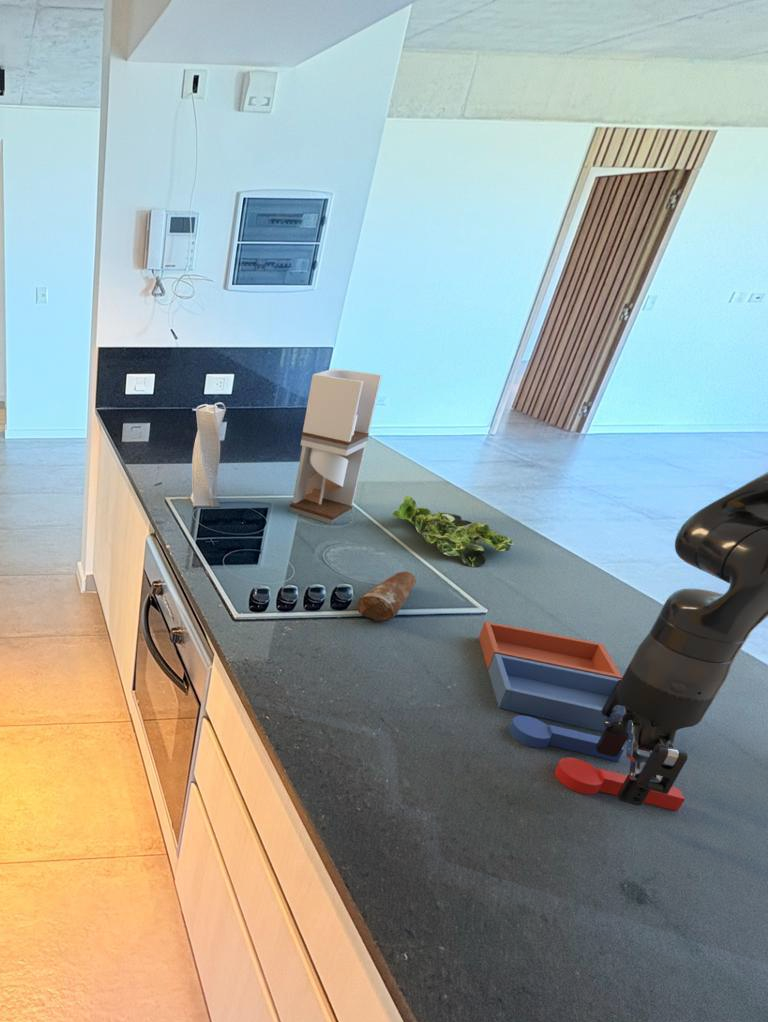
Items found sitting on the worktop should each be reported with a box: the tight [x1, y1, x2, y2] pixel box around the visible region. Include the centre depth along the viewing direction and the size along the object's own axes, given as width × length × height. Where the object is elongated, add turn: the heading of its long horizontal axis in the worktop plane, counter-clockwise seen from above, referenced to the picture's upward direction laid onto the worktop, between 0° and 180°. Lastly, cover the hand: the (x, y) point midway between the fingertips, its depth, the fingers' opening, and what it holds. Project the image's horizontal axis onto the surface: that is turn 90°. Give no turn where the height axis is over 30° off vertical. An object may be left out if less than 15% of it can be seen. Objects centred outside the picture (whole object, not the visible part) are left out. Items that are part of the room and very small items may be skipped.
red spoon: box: [554, 757, 686, 812], centre depth 79 cm, size 12×5×2 cm, turn 65°
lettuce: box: [392, 495, 515, 568], centre depth 142 cm, size 18×25×7 cm
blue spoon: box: [508, 715, 625, 762], centre depth 86 cm, size 12×5×2 cm, turn 65°
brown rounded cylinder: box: [356, 571, 417, 622], centre depth 118 cm, size 6×19×6 cm, turn 133°
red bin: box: [478, 621, 623, 679], centre depth 101 cm, size 17×10×4 cm, turn 65°
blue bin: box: [487, 653, 624, 733], centre depth 93 cm, size 17×10×4 cm, turn 65°
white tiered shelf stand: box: [288, 367, 383, 525], centre depth 151 cm, size 11×11×35 cm
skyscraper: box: [188, 401, 227, 508], centre depth 159 cm, size 8×8×28 cm
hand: (616, 776), depth 79 cm, fingers open, 8 cm apart
